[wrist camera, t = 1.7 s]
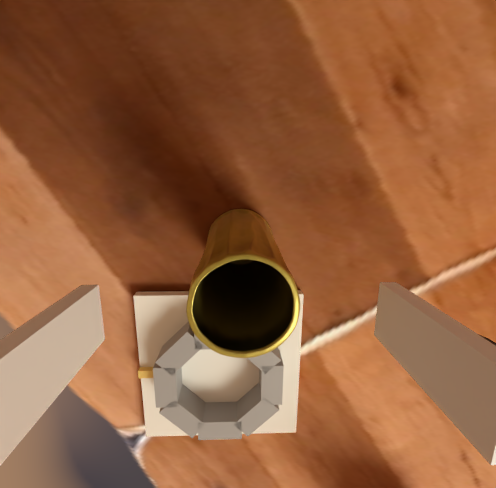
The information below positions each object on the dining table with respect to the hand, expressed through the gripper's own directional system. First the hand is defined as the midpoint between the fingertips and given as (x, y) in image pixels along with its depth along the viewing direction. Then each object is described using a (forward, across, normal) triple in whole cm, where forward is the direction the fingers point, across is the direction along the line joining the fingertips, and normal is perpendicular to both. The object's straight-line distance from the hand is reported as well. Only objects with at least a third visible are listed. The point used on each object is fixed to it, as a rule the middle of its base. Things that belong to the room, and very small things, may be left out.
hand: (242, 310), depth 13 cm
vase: (+14, 0, 0) cm, 14 cm away
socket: (+14, -2, -13) cm, 19 cm away
